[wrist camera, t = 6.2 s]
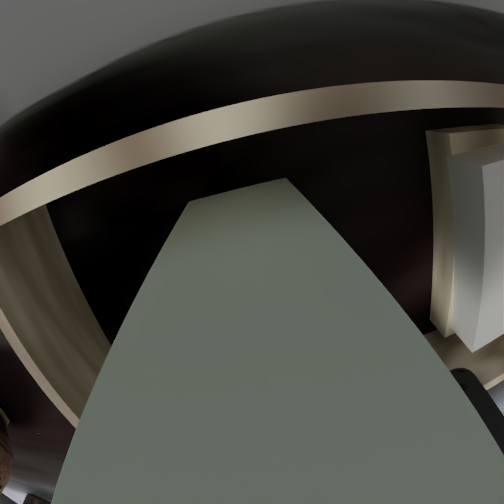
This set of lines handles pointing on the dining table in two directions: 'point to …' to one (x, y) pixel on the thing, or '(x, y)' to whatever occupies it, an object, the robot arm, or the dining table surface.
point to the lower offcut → (449, 209)
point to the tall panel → (273, 377)
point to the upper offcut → (478, 244)
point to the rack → (150, 150)
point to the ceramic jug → (4, 452)
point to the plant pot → (34, 500)
